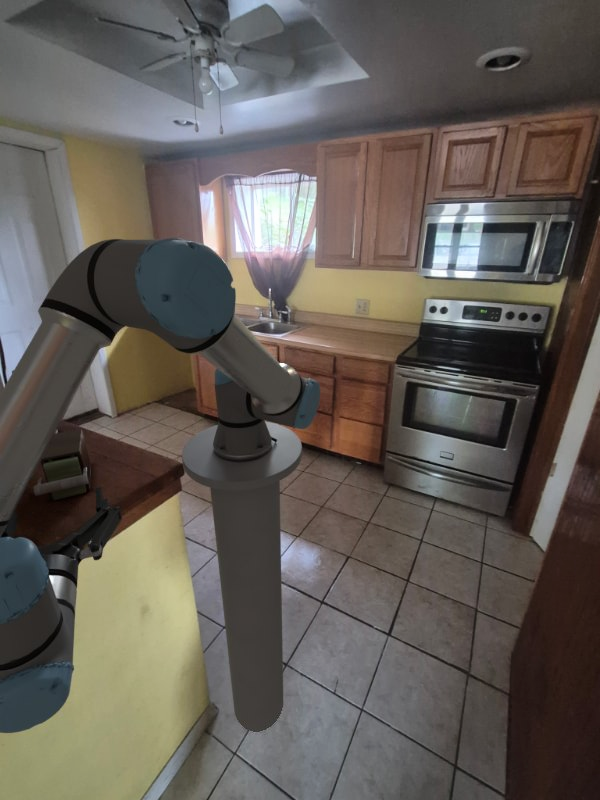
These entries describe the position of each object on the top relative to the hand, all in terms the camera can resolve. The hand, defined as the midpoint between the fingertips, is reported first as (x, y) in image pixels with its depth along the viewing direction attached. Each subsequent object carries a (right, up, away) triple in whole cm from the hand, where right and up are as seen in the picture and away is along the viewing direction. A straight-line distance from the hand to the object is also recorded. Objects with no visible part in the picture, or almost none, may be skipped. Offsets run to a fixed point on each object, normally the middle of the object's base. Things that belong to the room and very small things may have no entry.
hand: (58, 503), depth 68 cm
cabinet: (-8, 0, +18) cm, 20 cm away
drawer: (-6, -1, +13) cm, 15 cm away
